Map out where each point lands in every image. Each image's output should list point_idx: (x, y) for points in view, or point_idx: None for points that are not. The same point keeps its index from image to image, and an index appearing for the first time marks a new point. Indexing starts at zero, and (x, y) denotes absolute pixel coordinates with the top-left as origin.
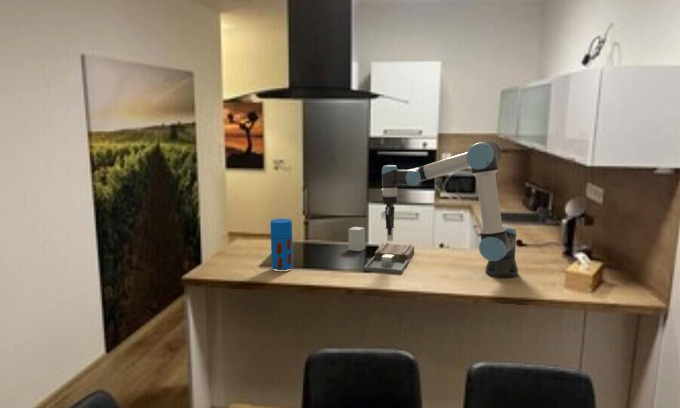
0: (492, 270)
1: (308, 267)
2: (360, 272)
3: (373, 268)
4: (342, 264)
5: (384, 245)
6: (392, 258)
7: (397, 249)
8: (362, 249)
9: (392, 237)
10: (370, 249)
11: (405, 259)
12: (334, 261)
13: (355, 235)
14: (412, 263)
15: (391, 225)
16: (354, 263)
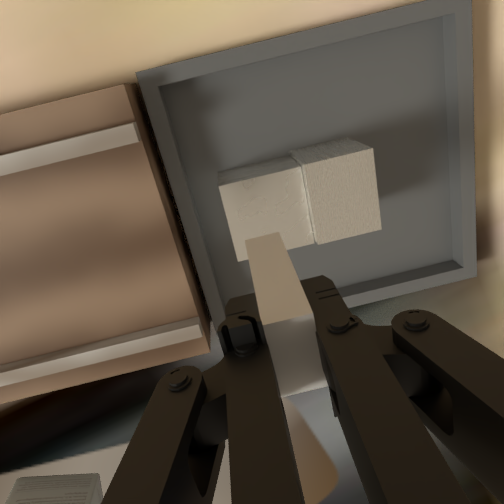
0: None
1: (492, 499)
2: (500, 266)
3: (472, 214)
4: None
5: (19, 374)
6: (318, 156)
7: (14, 250)
8: (55, 478)
9: (279, 250)
10: (6, 449)
11: (160, 96)
12: (352, 469)
13: None
14: (141, 33)
15: (378, 351)
16: None
